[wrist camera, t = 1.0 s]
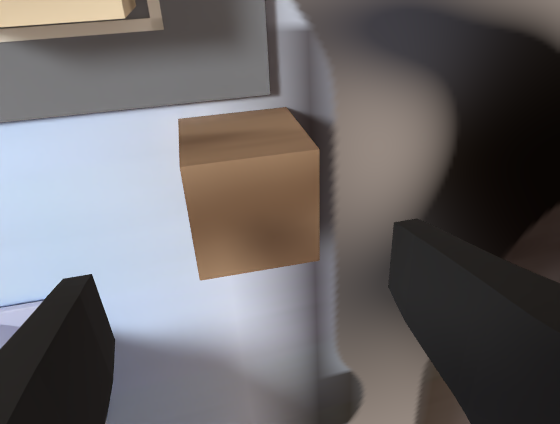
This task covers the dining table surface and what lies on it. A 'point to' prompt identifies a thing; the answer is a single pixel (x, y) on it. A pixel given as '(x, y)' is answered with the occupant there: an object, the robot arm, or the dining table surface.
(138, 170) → the dining table surface
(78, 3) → the oak block
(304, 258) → the walnut block
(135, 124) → the dining table surface
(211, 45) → the mat
